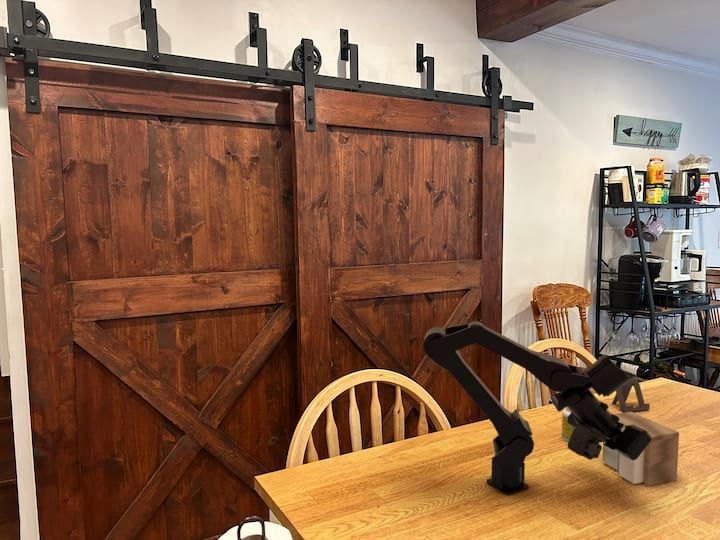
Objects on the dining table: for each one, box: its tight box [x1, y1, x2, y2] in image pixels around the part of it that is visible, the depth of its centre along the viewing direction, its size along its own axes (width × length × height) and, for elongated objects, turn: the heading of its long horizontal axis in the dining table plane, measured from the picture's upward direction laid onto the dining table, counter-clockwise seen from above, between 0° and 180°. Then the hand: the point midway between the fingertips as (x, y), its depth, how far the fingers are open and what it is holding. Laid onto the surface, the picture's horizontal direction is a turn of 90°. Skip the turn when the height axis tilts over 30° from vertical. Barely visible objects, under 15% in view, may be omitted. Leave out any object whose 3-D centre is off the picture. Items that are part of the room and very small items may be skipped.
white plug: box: [618, 443, 680, 485], centre depth 116 cm, size 12×4×9 cm, turn 108°
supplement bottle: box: [561, 407, 574, 443], centre depth 136 cm, size 5×5×10 cm
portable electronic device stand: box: [611, 377, 650, 413], centre depth 159 cm, size 9×8×8 cm
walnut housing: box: [602, 412, 680, 487], centre depth 119 cm, size 9×13×11 cm
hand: (627, 452), depth 114 cm, fingers closed, pressing on white plug
